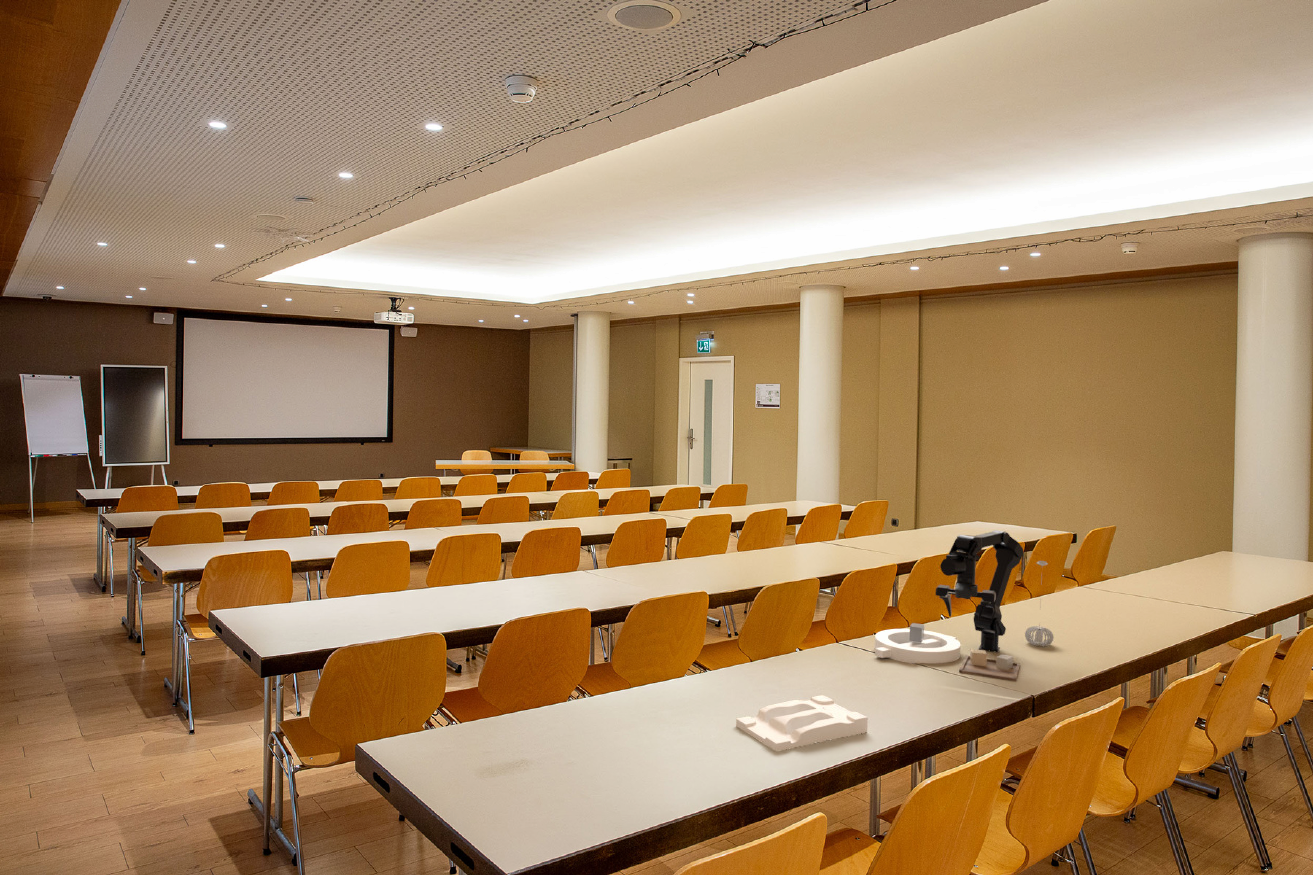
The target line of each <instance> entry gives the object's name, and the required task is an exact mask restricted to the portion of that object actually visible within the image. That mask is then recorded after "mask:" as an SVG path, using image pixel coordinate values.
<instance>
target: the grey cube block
mask: <svg viewBox="0 0 1313 875" xmlns="http://www.w3.org/2000/svg"><path fill="white" fill-rule="evenodd" d="M909 629H910V636H909V641H914V642H922V641H923V639H924V630H925V624H921V623H915V622H912V623H910V625H909Z"/></svg>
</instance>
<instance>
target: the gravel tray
mask: <svg viewBox="0 0 1313 875" xmlns="http://www.w3.org/2000/svg"><path fill="white" fill-rule="evenodd" d="M1020 667H1021V663H1019V662H1014V661H1013V668H1011V669H1008V670H1004V669H1000V668H996V659H993V658H987V665H986V666H980V665H972V664H971V662H970V655H965V658H964V659H963V661H962V663H961V665H960V667H959V670H958V673H960V674H967V675H972V676H980V677H986V678H992V679H997V680H998V679H1000V680H1005V681H1012V682H1017V678H1018V675H1019V671H1020Z"/></svg>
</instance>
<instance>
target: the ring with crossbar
mask: <svg viewBox="0 0 1313 875" xmlns="http://www.w3.org/2000/svg"><path fill="white" fill-rule="evenodd" d="M909 636H910V628H892V629H885V630H881V631H878V632H876V633H875V636H874V637H875V638H874V656H876V657H879V658H882V659H884V658H888V659H891V660H894V661H898V662H904V663H908V664H917V663H920V664H921V663H922V664H943V663H945V664H946V663H951V662H954V661H957V660H958V659H960V658H961V642H960V641H959V640H958V638H957V637H955V636H952V635H946V634H945V633H940V632H935V631H930V630H925V629H924V639H923V641H922V642H914V641H909Z"/></svg>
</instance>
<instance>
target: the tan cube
mask: <svg viewBox="0 0 1313 875" xmlns="http://www.w3.org/2000/svg"><path fill="white" fill-rule="evenodd" d="M969 650H970V651H969V652H970V653H969V654H970V655H969V656H970V662H971V664H972V665H980V666H986V665H987V659H988V658H987V657H988V653H987V651H985V650H979V649H973V648H971V649H969Z"/></svg>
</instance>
